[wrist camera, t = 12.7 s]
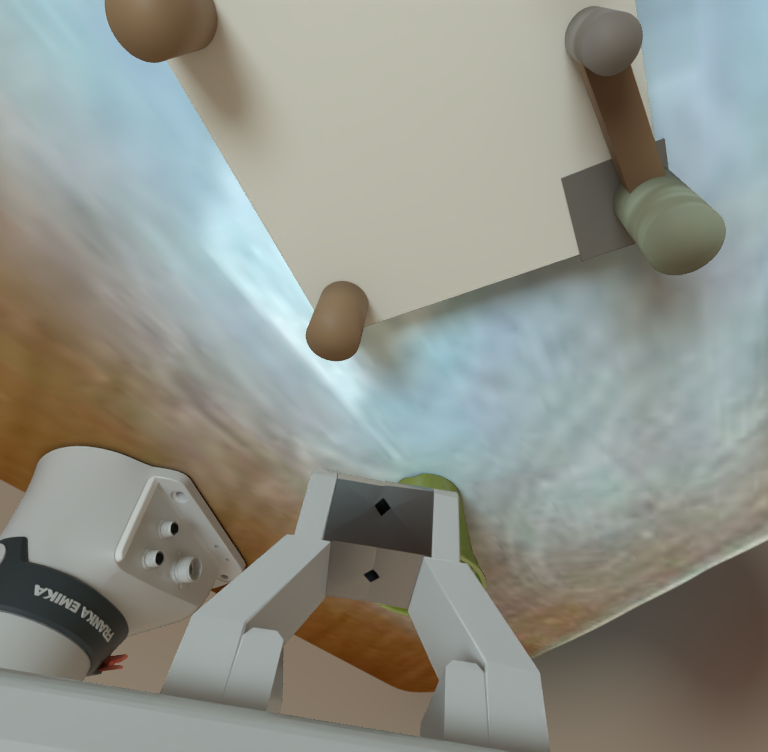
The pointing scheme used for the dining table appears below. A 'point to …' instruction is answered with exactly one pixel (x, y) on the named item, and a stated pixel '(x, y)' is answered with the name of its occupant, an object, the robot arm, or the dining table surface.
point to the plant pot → (465, 543)
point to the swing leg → (639, 148)
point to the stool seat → (396, 140)
